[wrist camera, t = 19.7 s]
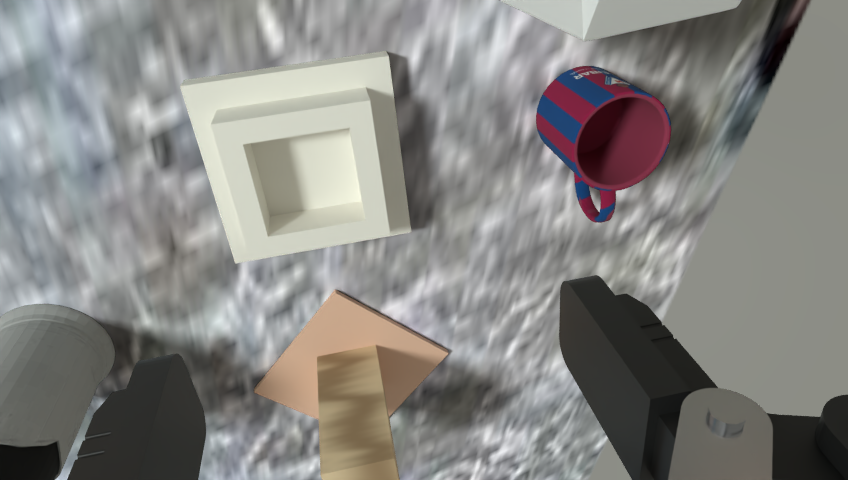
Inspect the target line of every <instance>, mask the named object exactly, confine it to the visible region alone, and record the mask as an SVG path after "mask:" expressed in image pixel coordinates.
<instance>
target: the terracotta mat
mask: <svg viewBox="0 0 848 480" xmlns="http://www.w3.org/2000/svg"><path fill="white" fill-rule="evenodd" d="M372 345H376V349H377V354H378V359H379V364H380V370H381V375H382V380H383V385H384V391H385V396H386V402H387V408H388V414H389V416H390V415H391V414H392V413H393V412H394V411H395V410H396V409H397V408H398V407H399V406H400V405H401V404H402V403H403V402H404V401H405V399H406V398H407V397H408V396H409V395H410V394H411V393H412V392H413V391H414V390H415V389H416V388H417V387H418V386H419V385H420V383H421V382H422V381H423V380H424V379H425V378H426V377H427V376H428V375H429V374H430V373H431V372H432V371H433V370H434V369H435V367H436V366H437V365H438V364H439V363H440V362H441V361H442V360H443V359H444V358H445V357H446V356H447V355H448V351H447V350H446V349H445V348H443V347H441V346H439V345H437V344H435V343H433V342H432V341H430V340H428V339H426V338H424V337H422V336H420V335H419V334H417V333H415V332H413V331H411V330H409V329H408V328H406V327H404V326H402V325H400V324H398V323H396V322H395V321H393V320H391V319H389V318H387V317H385V316H383V315H382V314H380V313H378V312H376V311H374V310H372V309H370V308H369V307H367V306H365V305H363V304H361V303H359V302H357V301H356V300H354V299H352V298H350V297H348V296H346V295H344V294H343V293H341V292H339V291H337V290H334V292H333V293H332V294H331V295H330V297H329V298H328V299H327V300H326V301H325V303H324V304H323V305H322V306H321V308H320V309H319V310H318V311H317V312H316V314H315V315H314V316H313V317H312V319H311V320H310V321H309V322H308V323H307V325H306V326H305V327H304V328H303V330H302V331H301V332H300V333H299V334H298V336H297V337H296V338H295V339H294V340H293V342H292V343H291V344H290V345H289V347H288V348H287V349H286V350H285V351H284V353H283V354H282V355H281V356H280V358H279V359H278V360H277V361H276V362H275V364H274V365H273V366H272V367H271V369H270V370H269V371H268V372H267V373H266V375H265V376H264V377H263V378H262V380H261V381H260V382H259V383H258V384H257V386H256V387H255V388H254V393H256V394H259V395H261V396H263V397H266V398H268V399H271V400H273V401H275V402H278V403H280V404H283V405H285V406H287V407H290V408H292V409H294V410H297V411H299V412H302V413H304V414H306V415H309V416H311V417H314V418H316V419H318V420H319V406H318V375H317V357H318V356H323V355H328V354H333V353H338V352H343V351H348V350H353V349H358V348H363V347H368V346H372Z"/></svg>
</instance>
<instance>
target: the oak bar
mask: <svg viewBox="0 0 848 480" xmlns="http://www.w3.org/2000/svg"><path fill="white" fill-rule="evenodd" d="M317 375H318V406H319V437H320V468H321V477H322V480H400V479H399V473H398V467H397V461H396V455H395V450H394V444H393V438H392V432H391V426H390V420H389V414H388V408H387V402H386V396H385V391H384V385H383V380H382V375H381V370H380V364H379V359H378V354H377V349H376V345H372V346H368V347H363V348H358V349H353V350H348V351H343V352H338V353H333V354H328V355H323V356H318V357H317Z"/></svg>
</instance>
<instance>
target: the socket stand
mask: <svg viewBox="0 0 848 480" xmlns="http://www.w3.org/2000/svg"><path fill="white" fill-rule="evenodd" d="M180 88H181V91H182V94H183V97H184V100H185V104H186V107H187V110H188V113H189V116H190V120H191V123H192V126H193V129H194V132H195V136H196V139H197V142H198V145H199V148H200V152H201V155H202V158H203V161H204V164H205V168H206V171H207V174H208V177H209V180H210V184H211V187H212V190H213V193H214V196H215V200H216V203H217V206H218V209H219V212H220V216H221V219H222V222H223V225H224V229H225V232H226V235H227V238H228V241H229V245H230V248H231V251H232V254H233V257H234V261H235V263H241V262H246V261H252V260H258V259H263V258H269V257H275V256H280V255H286V254H292V253H297V252H303V251H309V250H314V249H320V248H326V247H331V246H337V245H343V244H348V243H354V242H359V241H365V240H371V239H376V238H382V237H388V236H393V235H399V234H405V233H410V232H411V226H410V218H409V210H408V202H407V195H406V187H405V179H404V171H403V164H402V156H401V148H400V140H399V132H398V125H397V117H396V109H395V101H394V94H393V86H392V78H391V70H390V62H389V56H388V54H387V52H386V51H382V52H375V53H369V54H362V55H355V56H348V57H341V58H334V59H327V60H320V61H313V62H306V63H299V64H292V65H285V66H278V67H271V68H265V69H258V70H251V71H244V72H237V73H230V74H223V75H216V76H209V77H202V78H195V79H188V80H184V81H183V83H182V84H181V86H180Z"/></svg>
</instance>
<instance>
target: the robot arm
mask: <svg viewBox="0 0 848 480" xmlns="http://www.w3.org/2000/svg"><path fill="white" fill-rule="evenodd" d="M559 339H560V347H561V351H562V355H563V358H564V361H565V363H566V365H567V367H568V369H569V371H570V372H571V374H572V376H573V378H574V379H575V381H576V383H577V385H578V386H579V388H580V390H581V391H582V393H583V395H584V397H585V398H586V400H587V402H588V404H589V405H590V407H591V409H592V411H593V412H594V414H595V416H596V418H597V419H598V421H599V423H600V425H601V426H602V428H603V430H604V431H605V433H606V435H607V437H608V438H609V440H610V442H611V443H612V445H613V447H614V449H615V450H616V452H617V454H618V456H619V458H620V459H621V461H622V463H623V465H624V466H625V468H626V470H627V472H628V473H629V475H630V477H631V478H632V480H848V395H841V396H838V397H834V398H832V399H830V400H829V401H828V402H827V403H826V404H825V406H824V408H823V411H822V414H821V417H809V416H792V415H776V414H768V413H766V412H765V411H764V410H763V408H762V407H760V406H759V405H758V404H757V403H756V402H754V401H753V400H751V399H750V398H748V397H746V396H744V395H742V394H739V393H737V392H734V391H731V390H727V389H721V388H718V387H717V386H716V385H715V384H714V382H713V381H712V380H711V379H710V378H709V377H708V375H707V374H706V373H705V372H704V371H703V370H702V369H701V367H700V366H699V365H698V364H697V363H696V361H695V360H694V359H693V358H692V357H691V356H690V355H689V353H688V352H687V351H686V350H685V349H684V348H683V346H682V345H681V344H680V343H679V342H678V341H677V339H674V338H673V335H672V334H671V332H669V330H668V329H667V328H666V327H665V326H664V325H663V326H662V322H661V321H660V320H659V319H658V317H657V316H656V315H655V314H654V313H653V312H652V310H651V309H650V308H649V307H648V306H647V305H645V304H644V303H642V302H640V301H638V300H637V299H635V298H633V297H631V296H630V295H628V294H621V295H616V296H615V295H614V293H613V292H612V291H611V290H610V288H609V287H608V286H607V285H606V283H605V282H604V281H603V280H602V279H601V277H599V276H597V275H595V276H590V277H585V278H579V279H574V280H569V281H564V282H563V283H562V285H561V290H560V329H559ZM205 437H206V423H205V416H204V411H203V408H202V405H201V403H200V400H199V398H198V395H197V393H196V390H195V388H194V385H193V383H192V380H191V378H190V375H189V373H188V370H187V368H186V366H185V363H184V361H183V359H182V357H181V356H180V355H179V354H173V355H167V356H162V357H157V358H152V359H146V360H141V361H138V362H137V363H136V365H135V367H134V370H133V373H132V375H131V378H130V381H129V384H128V386H127V389H125V390H120V391H115V392H113V393H112V394H111V395H110V396H109V397H108V398H107V399H106V401H105V402H104V403H103V404H102V405H101V406H100V408H99V409H98V410H97V411H96V412H95V413H94V415H93V418H92V420H91V423H90V425H89V427H88V430H87V432H86V435H85V441H83V442H82V445H81V447H80V450H79V452H78V455H77V456H78V459H77V460H75V462H74V464H73V467H72V469H71V472H70V474H69V477H68V479H67V480H198V477H199V471H200V466H201V460H202V455H203V449H204V443H205Z"/></svg>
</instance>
